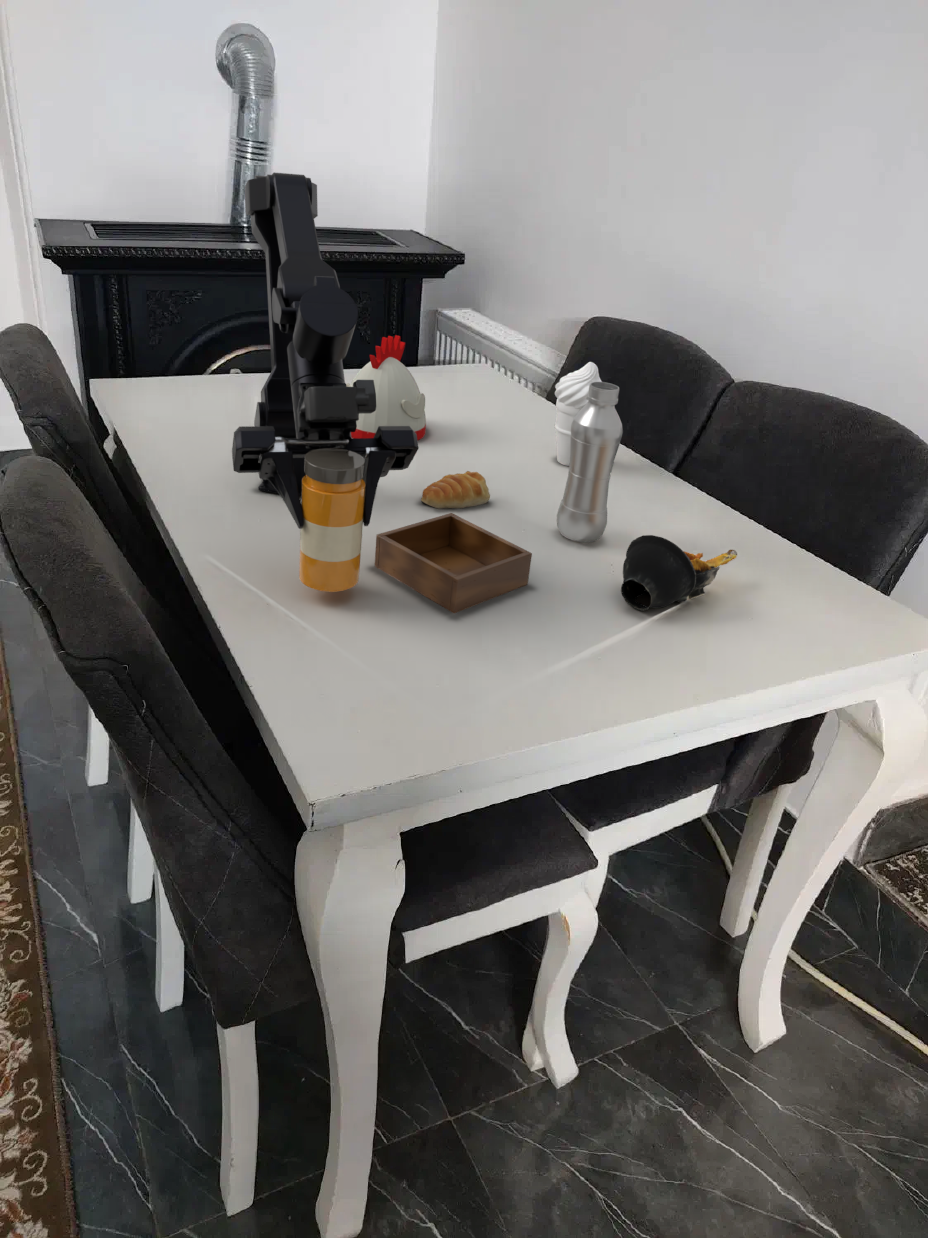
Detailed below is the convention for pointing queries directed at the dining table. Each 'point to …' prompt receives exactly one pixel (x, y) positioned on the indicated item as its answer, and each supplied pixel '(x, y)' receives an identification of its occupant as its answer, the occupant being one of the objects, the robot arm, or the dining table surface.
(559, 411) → the ice cream cone
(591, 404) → the silver metal bottle
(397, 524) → the dining table surface
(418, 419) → the kitchen timer
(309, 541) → the jar
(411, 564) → the wooden box
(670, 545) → the fried shrimp in bowl
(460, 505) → the pastry
